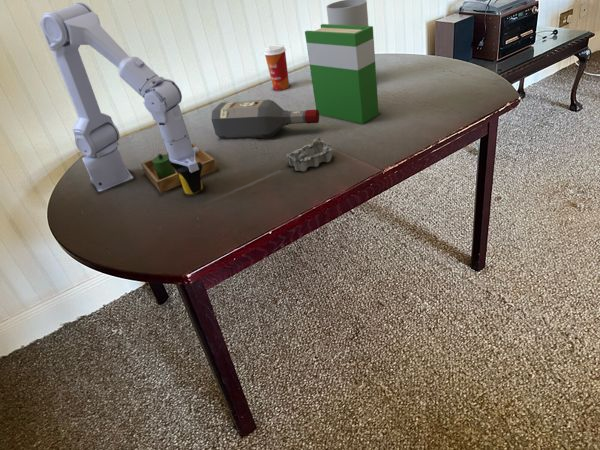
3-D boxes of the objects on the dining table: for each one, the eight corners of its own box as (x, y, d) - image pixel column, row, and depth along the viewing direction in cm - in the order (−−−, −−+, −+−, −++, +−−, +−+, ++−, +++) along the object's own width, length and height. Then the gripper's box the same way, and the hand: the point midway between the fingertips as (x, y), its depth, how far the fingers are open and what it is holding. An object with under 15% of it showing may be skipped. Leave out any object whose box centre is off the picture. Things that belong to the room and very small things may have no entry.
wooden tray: (161, 194, 115) (156, 182, 113) (145, 175, 125) (140, 163, 123) (217, 171, 120) (214, 159, 118) (197, 154, 131) (193, 142, 129)
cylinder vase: (330, 82, 163) (320, 5, 149) (363, 73, 165) (356, -4, 151) (343, 92, 153) (334, 10, 139) (378, 82, 155) (373, 1, 141)
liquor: (228, 128, 143) (323, 124, 134) (217, 142, 136) (316, 138, 127) (221, 100, 138) (319, 93, 129) (208, 112, 131) (311, 106, 122)
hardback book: (316, 114, 141) (304, 31, 128) (332, 105, 145) (322, 24, 131) (362, 123, 130) (354, 34, 116) (378, 113, 134) (372, 26, 120)
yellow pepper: (189, 198, 111) (180, 174, 108) (182, 191, 115) (174, 168, 111) (206, 190, 113) (199, 167, 109) (199, 184, 116) (192, 161, 113)
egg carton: (323, 150, 121) (321, 135, 118) (336, 160, 115) (334, 145, 112) (285, 163, 118) (283, 148, 116) (297, 174, 112) (294, 159, 110)
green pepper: (166, 182, 119) (157, 160, 115) (155, 178, 121) (146, 157, 118) (179, 173, 121) (172, 151, 118) (169, 170, 124) (161, 149, 120)
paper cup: (267, 88, 168) (259, 48, 160) (286, 82, 170) (280, 42, 163) (275, 93, 162) (268, 52, 154) (295, 87, 164) (288, 46, 156)
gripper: (203, 139, 101) (219, 191, 109) (181, 122, 112) (197, 171, 120) (173, 150, 99) (192, 204, 107) (153, 132, 110) (171, 181, 117)
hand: (193, 187), depth 113 cm, fingers closed on yellow pepper, 4 cm apart
